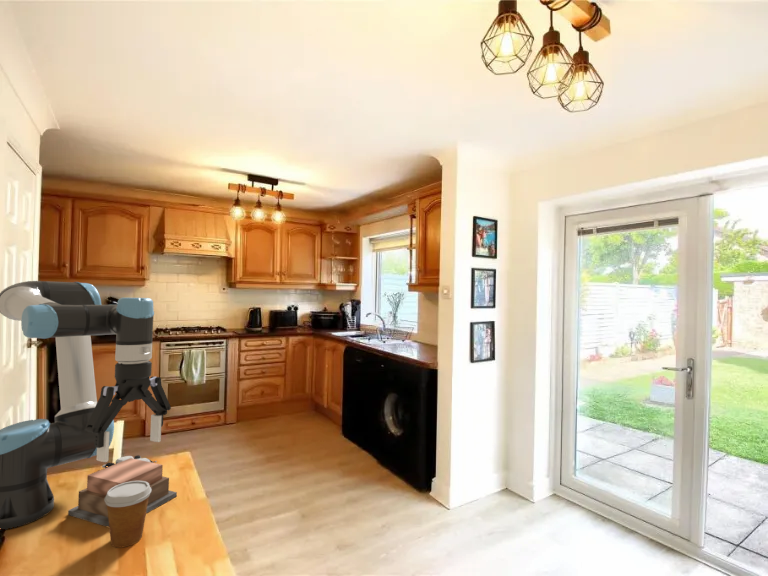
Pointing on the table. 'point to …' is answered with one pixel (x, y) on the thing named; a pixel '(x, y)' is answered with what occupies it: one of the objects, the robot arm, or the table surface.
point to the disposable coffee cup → (127, 512)
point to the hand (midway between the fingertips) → (130, 450)
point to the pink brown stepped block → (125, 471)
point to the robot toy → (126, 459)
